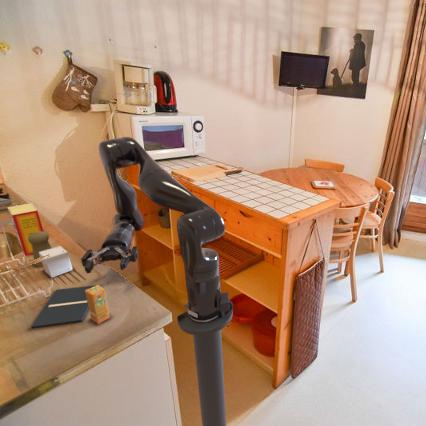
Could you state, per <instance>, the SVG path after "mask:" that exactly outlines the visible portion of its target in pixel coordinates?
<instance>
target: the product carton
mask: <svg viewBox="0 0 426 426" xmlns="http://www.w3.org/2000/svg"><path fill="white" fill-rule="evenodd" d="M48 254H49V257H48V258H46V259H45V260H42V264H43V266H42V267H43V271H44V272H45V273H46V274H47V275H48V276H49V277H50V278H55V277H57V276H60V275H63V274H66V273H68V272H72V271H73V265H72V263H71V259H70V255H69V251H67V250H66V249H65V248H64V247H62V246H61V245H58V246H55V247H51V249H48V250H45V251H41V252H39V255H40V257H43V256H46V255H48Z"/></svg>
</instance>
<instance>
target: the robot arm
mask: <svg viewBox="0 0 426 426" xmlns="http://www.w3.org/2000/svg"><path fill="white" fill-rule="evenodd" d="M98 154H99V158H100V161H101V165H102V168H103V170H104V173H105V175H106V178H107V182H108V184H109V186H110V189H111V192H112V196H113V201H114V202H113V203H114V208H115V212H117V213H115V214H114V215H113V216H112V219H111V221H112V223H111V225H112V229H111V230H110V232H109V233H108V234H107V236H106V237H105V239H104V241H103V243H102V244H101V247H100V248H99V249H98V250H97V251H93V249H88V250H87V251H86V252H85V253H84V254H83V256H82V257H81V258H80V260H81V261H80V262H81V265H82V267H83V268H84V271H85V272H86V274H91V273H92V271H93V269H94V267H95V266H97V265H102V264H104V263H105V262H111V261H119V269H120V270H121V271H123V270H125V269H127V268H128V265H129V264H130V262H132V263H136V262H137V260H138V256H139V249H138V246H137V245H134V246H133V247H132V248H131V246H132V243H133V239H134V237H135V234H136V232H140V231H142V230H143V229H144V227H145V224H146V220H145V217H144V215H143V213H142V211H141V210H140V208H139V206H138V197H137V196H138V195H137V192H136V190H135V188H134V187H133V186H132V185H131V184H130V183H129V182H128V181H126V180H125V179H124V178H123V177H122V176H120V174H119V171H118V170H120V169H124V168H129V167H132V166H138V167H139V170H138V176H137V185H138V188H139V190H140V192H142V193H143V195H145V196H146V197H147V198H148V199H149V200H150V201H151V202H153V204H154V205H157V206H159V207H162V208H164V209H169V210H171V211H175V212H178V213H181V215H179V217H178V218H177V220H176V231H177V237H178V245H179V251H180V255H181V256H180V257H181V259H182V263H183V268H184V278H185V287H186V288H185V289H186V296H187V297H186V298H187V303H188V307H189V310H188V309H187V311H188V314H189V318H190V319H191V320H192V321H193V322H196V323H208V322H211V321H214V320H215V319H217V318H219V317H222V312H224V311H226V312H225V313H224V314H225V315H227V314H228V313H229V312H230V311H231V310H232V309H233V308H234V304H233V302H232V300H230V295H229V292H221V291H222V290H221V274H220V257H219V253H218V252H217V251H216V250H214V249H212V248H208V247H202V246H203V245H206V244H209V243H211V242H212V241H215V240H218V239H220V238H221V237H222V236H223V235H224V234H225V232H226V224H225V221H224V219H223V217H222V216H221V214H220V213H219V212H218V211H217V210H216V209H215V208H213V207H212V206H211V205H209V204H208V203H207V202H205V201H204V200H203V199H201V198H199V197H198V196H196V195H195V194H194V193H193V192H191V191H190V190H189V189H188V188H187V187H185V186H184V185H183V184H181V182H180V181H178V180H177V179H176V178H175V177H174V176H173V175H172V174H171V173H170V172H169V171H167V170H166V169H165V168H163V167H162V166H161V165H160V164H159V163H158V162H157V161H155V159H153V157H152V156H151V155H150V154H149V153H148V152H147V151H146V149H145V148H144V147H143V146H142V145H141V144H140V143H139V142H138V141H137V140H136V139H135V138H133V137H132V136H121V137H117V138H116V137H115V138H111V139H105V140H102V141H100V142H99V143H98ZM129 254H130V255H129ZM229 305H230V307H229ZM233 310H234V309H233Z"/></svg>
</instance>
